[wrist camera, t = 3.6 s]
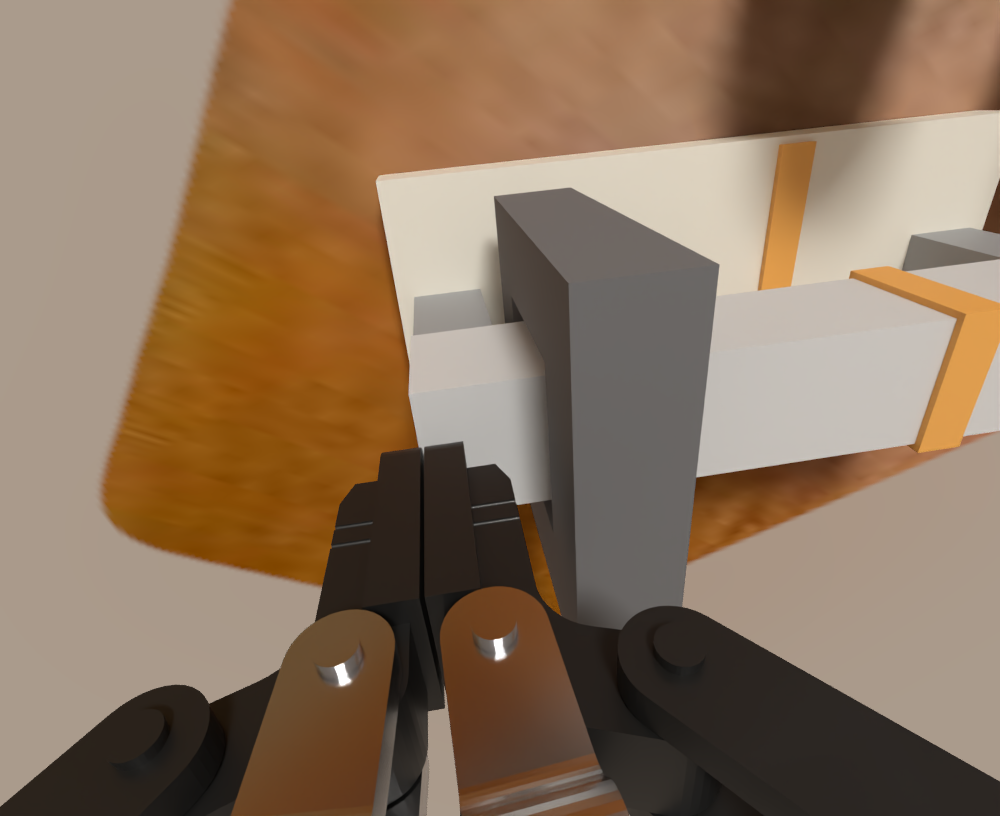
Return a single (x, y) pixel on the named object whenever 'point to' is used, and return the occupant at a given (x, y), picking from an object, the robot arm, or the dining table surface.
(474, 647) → the robot arm
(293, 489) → the dining table surface
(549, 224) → the collar
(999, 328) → the white bar stand
